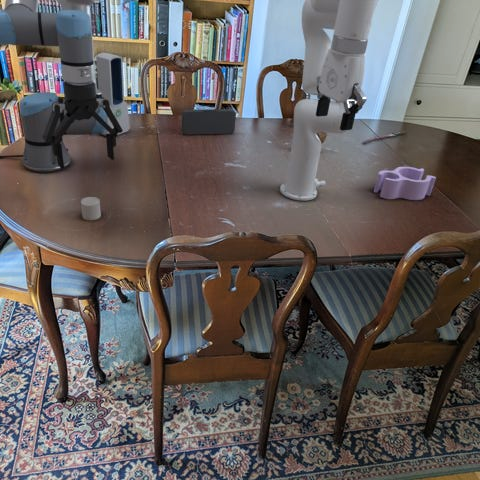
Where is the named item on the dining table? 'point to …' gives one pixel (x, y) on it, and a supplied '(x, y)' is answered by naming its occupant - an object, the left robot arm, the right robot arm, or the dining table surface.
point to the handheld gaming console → (208, 121)
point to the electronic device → (113, 88)
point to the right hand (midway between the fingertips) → (333, 122)
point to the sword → (383, 137)
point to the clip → (404, 184)
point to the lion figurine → (322, 136)
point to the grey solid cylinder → (90, 208)
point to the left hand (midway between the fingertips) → (86, 162)
